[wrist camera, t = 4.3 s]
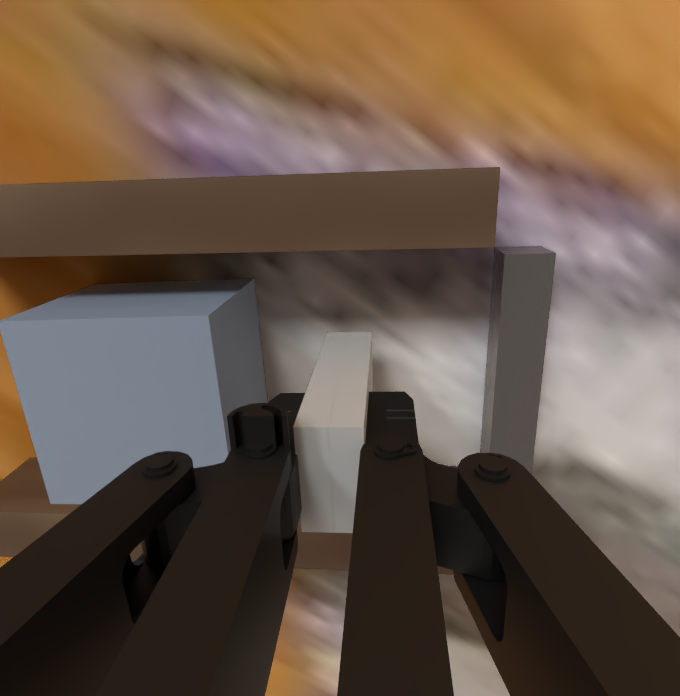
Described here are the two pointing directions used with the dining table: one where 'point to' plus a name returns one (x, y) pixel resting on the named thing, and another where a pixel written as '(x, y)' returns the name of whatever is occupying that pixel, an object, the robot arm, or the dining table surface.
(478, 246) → the channel
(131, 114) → the dining table surface
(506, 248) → the bar
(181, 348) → the block
